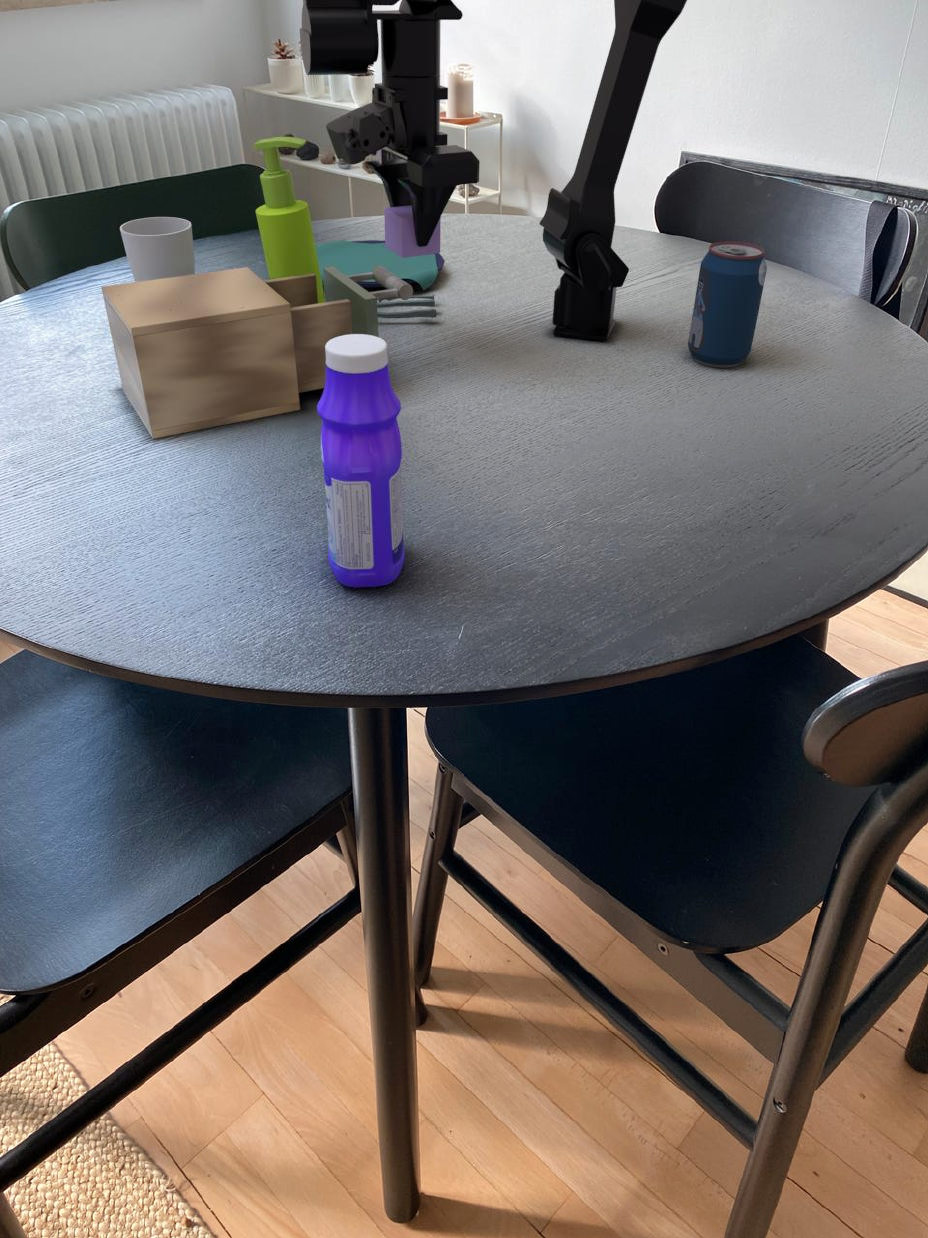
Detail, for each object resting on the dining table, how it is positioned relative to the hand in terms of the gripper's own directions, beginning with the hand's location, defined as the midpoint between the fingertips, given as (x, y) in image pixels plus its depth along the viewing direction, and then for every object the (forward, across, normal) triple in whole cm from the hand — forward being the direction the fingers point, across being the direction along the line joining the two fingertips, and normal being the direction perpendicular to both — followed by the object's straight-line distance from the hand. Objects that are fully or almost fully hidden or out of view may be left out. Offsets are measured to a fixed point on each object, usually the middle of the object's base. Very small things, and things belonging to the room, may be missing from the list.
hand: (412, 240), depth 102 cm
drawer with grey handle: (+11, +4, -13) cm, 17 cm away
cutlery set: (+12, -22, +4) cm, 25 cm away
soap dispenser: (+12, -12, -8) cm, 19 cm away
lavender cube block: (+1, 0, 0) cm, 1 cm away
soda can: (+12, +18, +29) cm, 36 cm away
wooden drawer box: (+12, +4, -25) cm, 28 cm away
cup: (+12, -24, -22) cm, 35 cm away
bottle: (+12, +40, -23) cm, 47 cm away
